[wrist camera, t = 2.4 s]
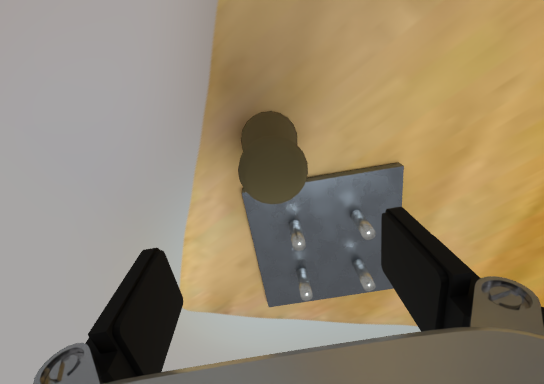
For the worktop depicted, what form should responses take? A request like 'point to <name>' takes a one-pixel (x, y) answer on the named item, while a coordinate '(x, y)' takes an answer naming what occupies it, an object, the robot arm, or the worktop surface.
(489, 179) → the worktop surface
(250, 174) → the olive tapered piece
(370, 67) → the worktop surface
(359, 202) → the pin plate
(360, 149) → the worktop surface
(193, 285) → the worktop surface
